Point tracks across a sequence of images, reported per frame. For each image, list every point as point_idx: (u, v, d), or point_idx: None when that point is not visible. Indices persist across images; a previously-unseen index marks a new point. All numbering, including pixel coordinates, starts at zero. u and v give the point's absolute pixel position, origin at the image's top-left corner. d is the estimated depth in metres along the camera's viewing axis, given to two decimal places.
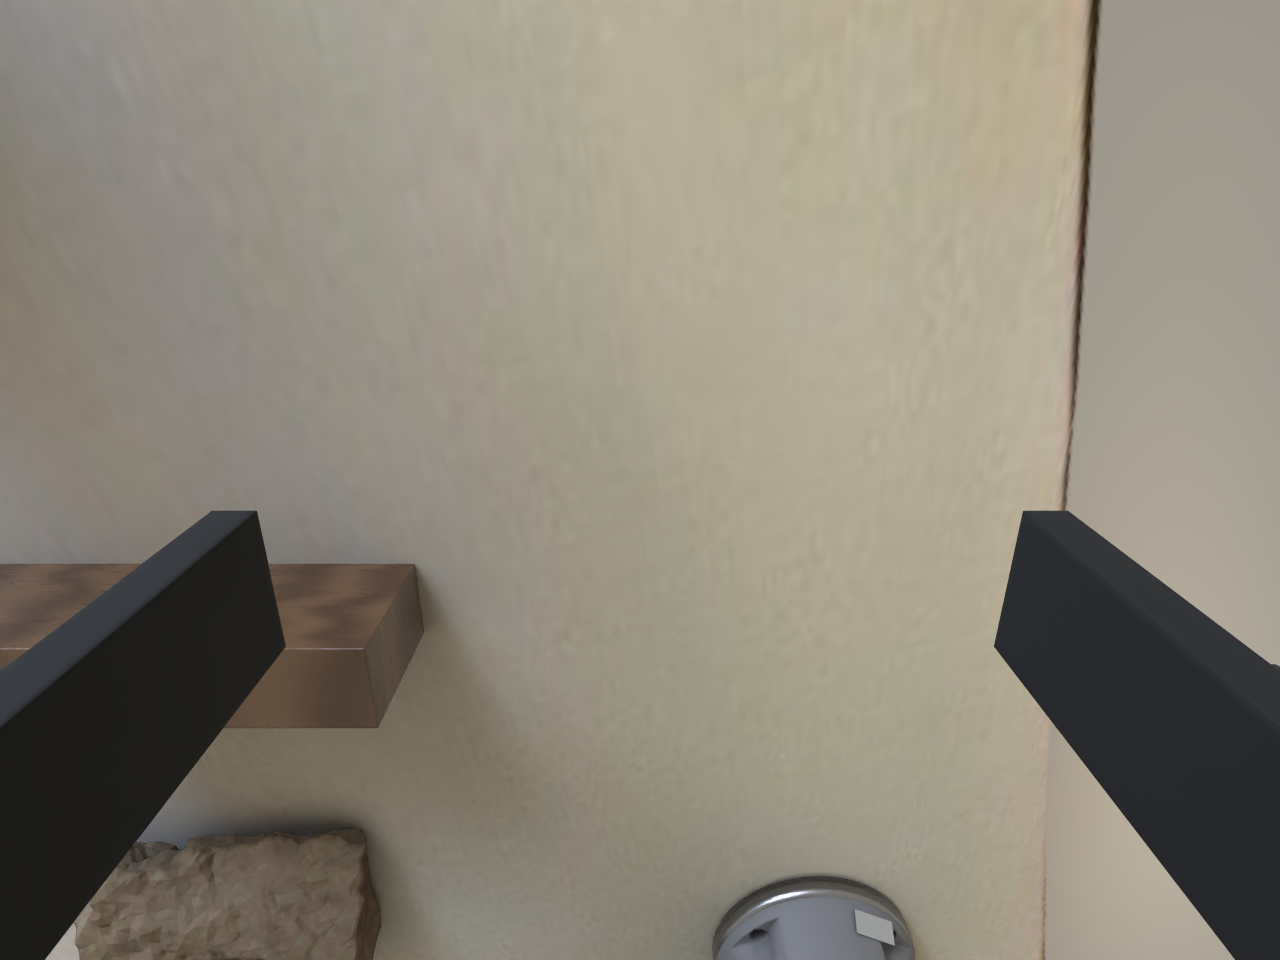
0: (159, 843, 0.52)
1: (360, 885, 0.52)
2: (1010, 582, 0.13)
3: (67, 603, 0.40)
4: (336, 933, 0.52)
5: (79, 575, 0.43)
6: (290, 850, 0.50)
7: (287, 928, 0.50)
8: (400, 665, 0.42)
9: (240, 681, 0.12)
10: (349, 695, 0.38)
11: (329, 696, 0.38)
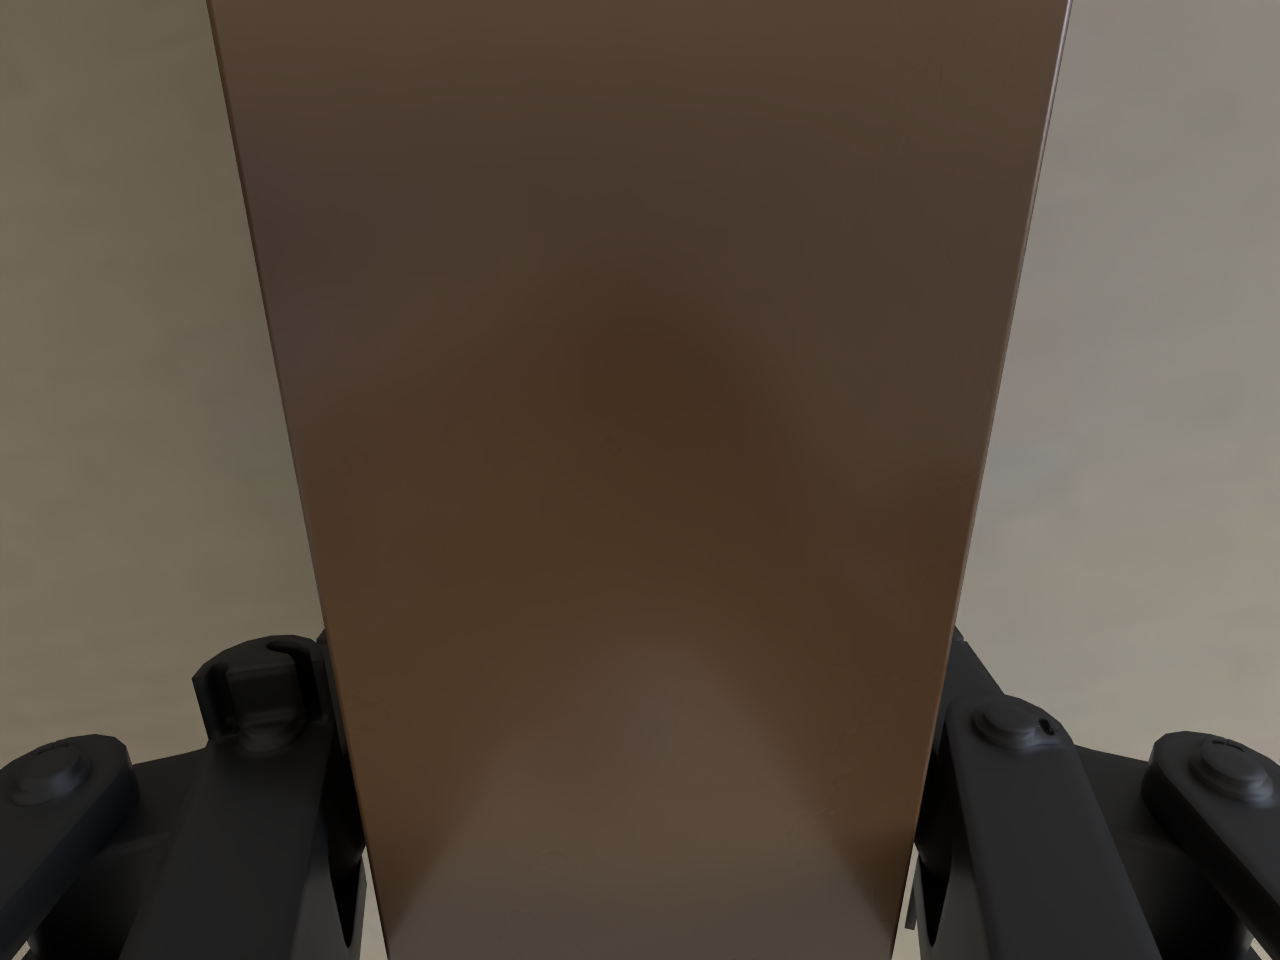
0: None
1: None
2: None
3: None
4: None
5: None
6: None
7: None
8: None
9: None
10: None
11: None
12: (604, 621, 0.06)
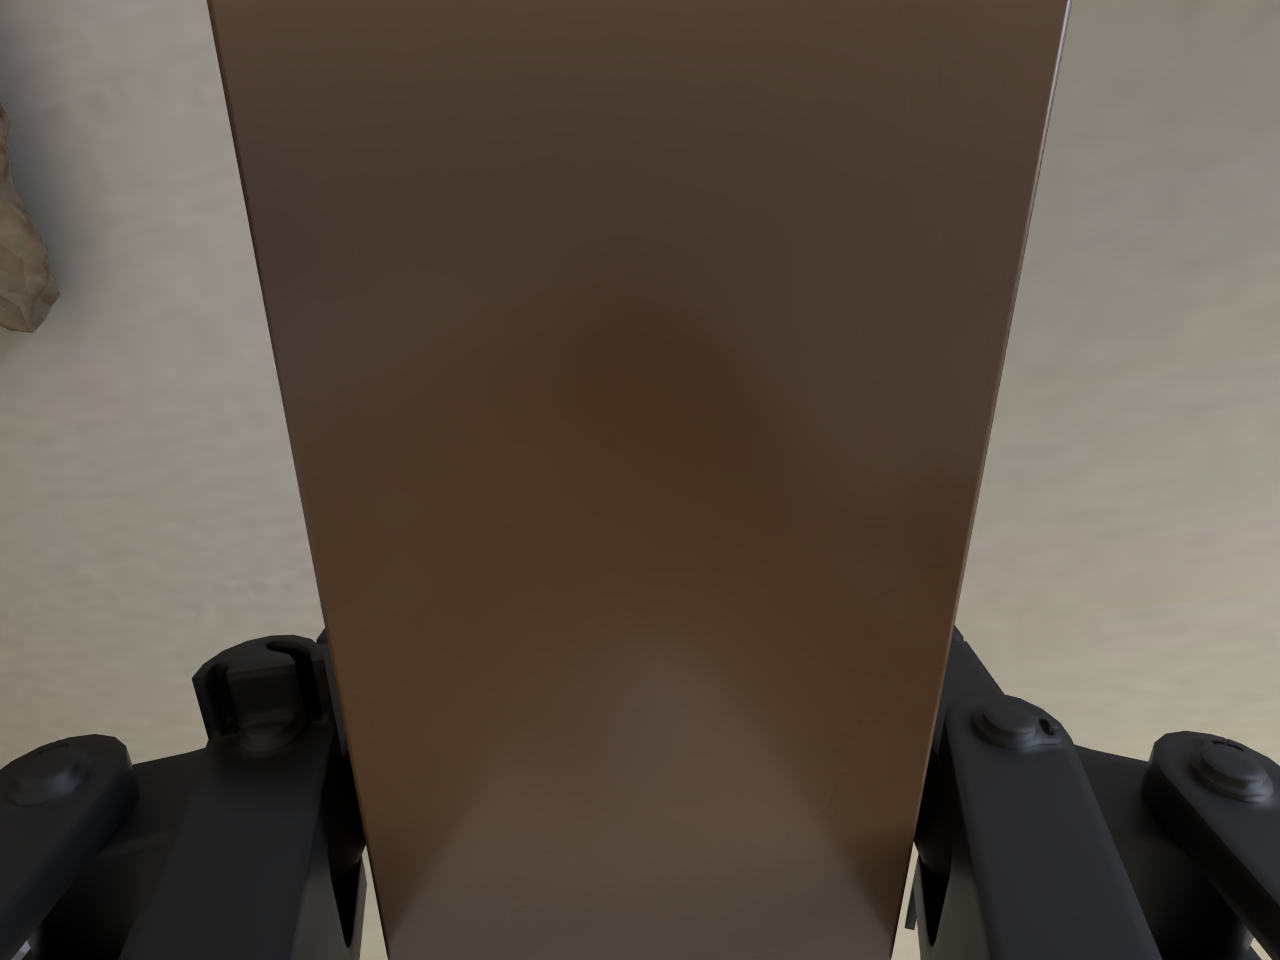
0: None
1: None
2: None
3: None
4: None
5: None
6: None
7: None
8: None
9: None
10: None
11: None
12: (604, 620, 0.06)
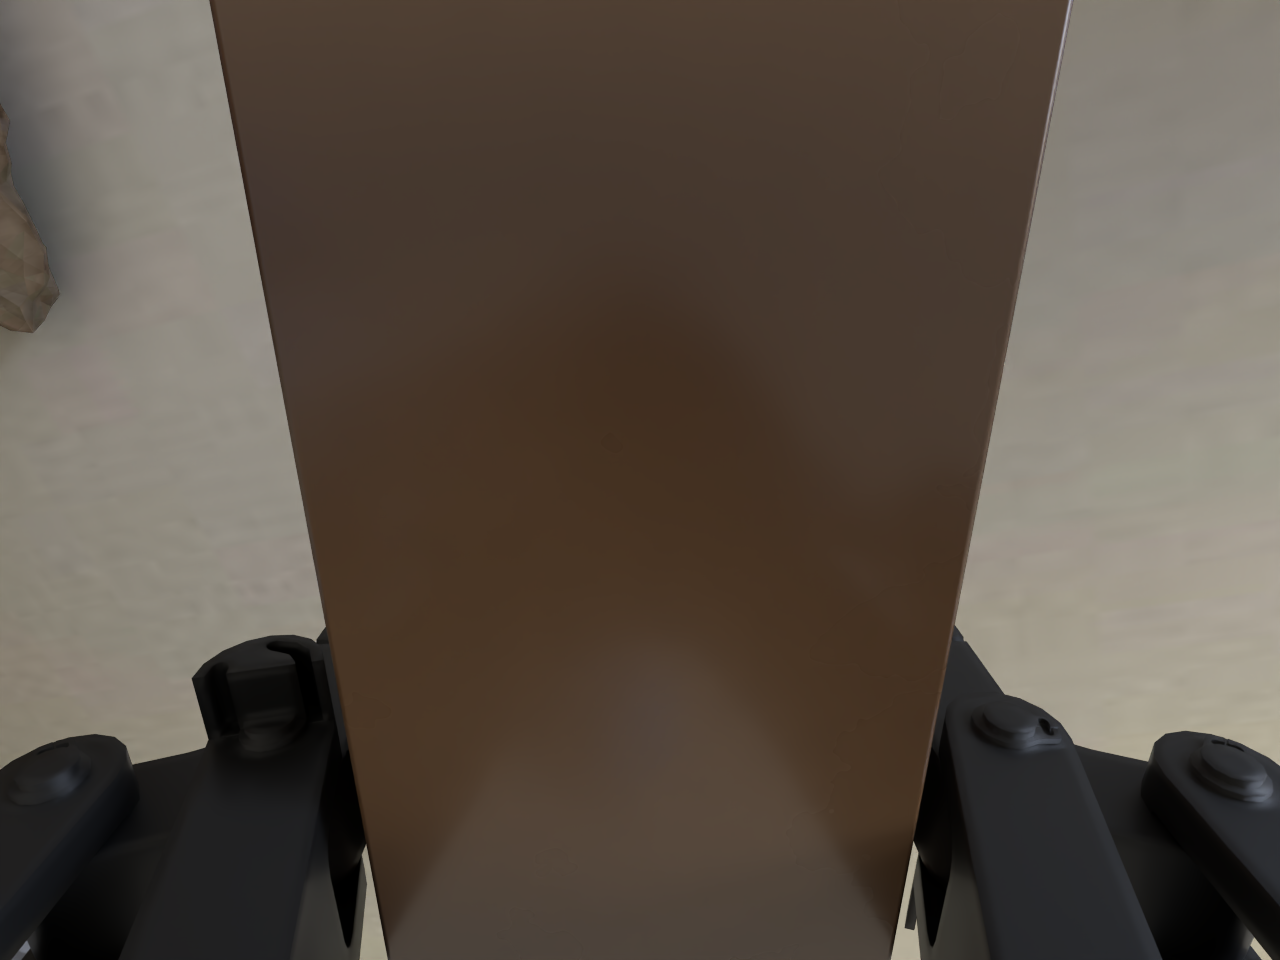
0: None
1: None
2: None
3: None
4: None
5: None
6: None
7: None
8: None
9: None
10: None
11: None
12: (605, 619, 0.06)
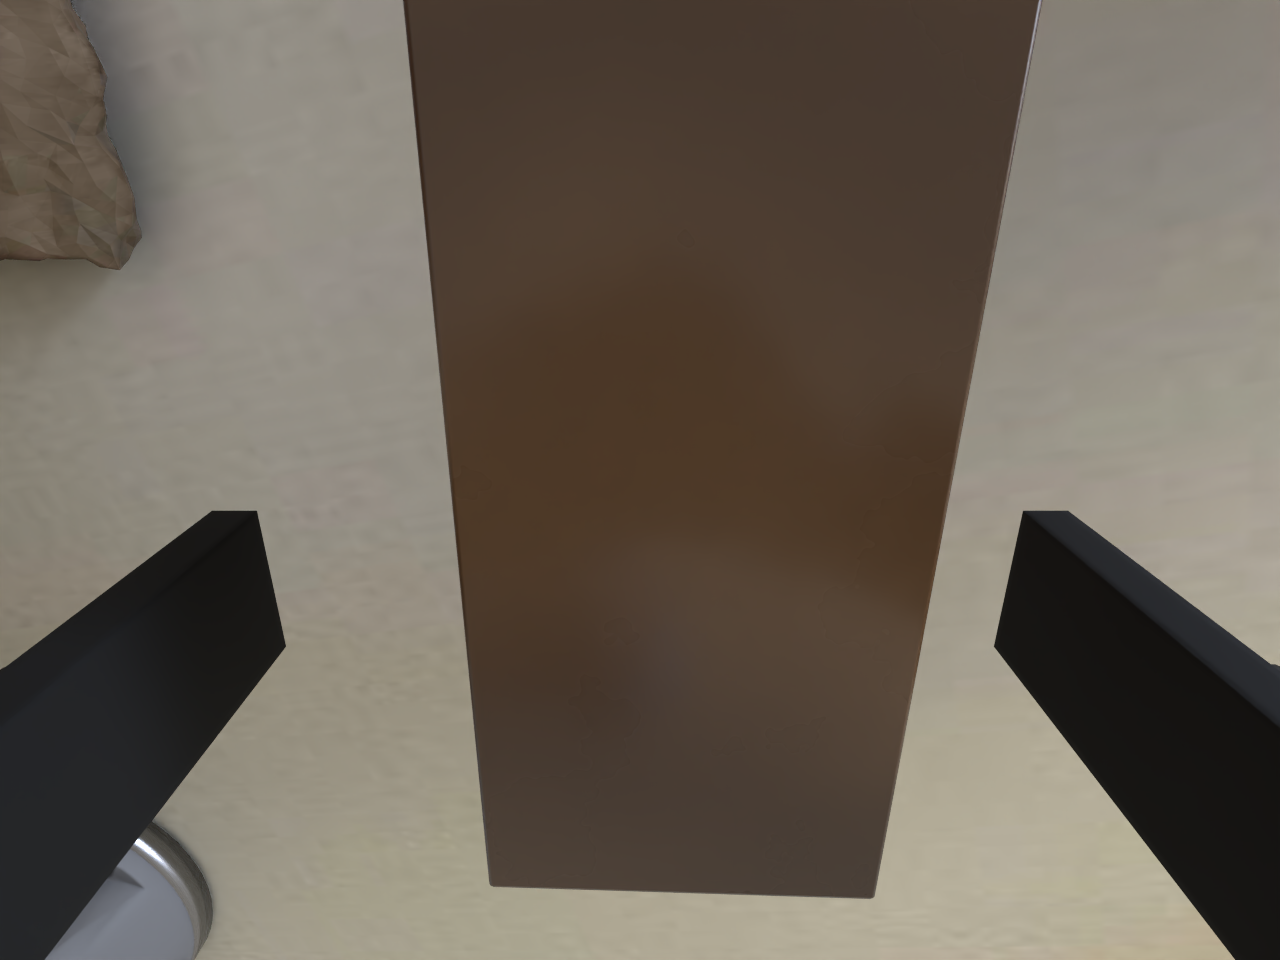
0: None
1: (11, 253, 0.25)
2: (1010, 582, 0.13)
3: None
4: None
5: None
6: (74, 114, 0.23)
7: None
8: None
9: (239, 681, 0.12)
10: (652, 826, 0.09)
11: (651, 760, 0.09)
12: (673, 400, 0.07)
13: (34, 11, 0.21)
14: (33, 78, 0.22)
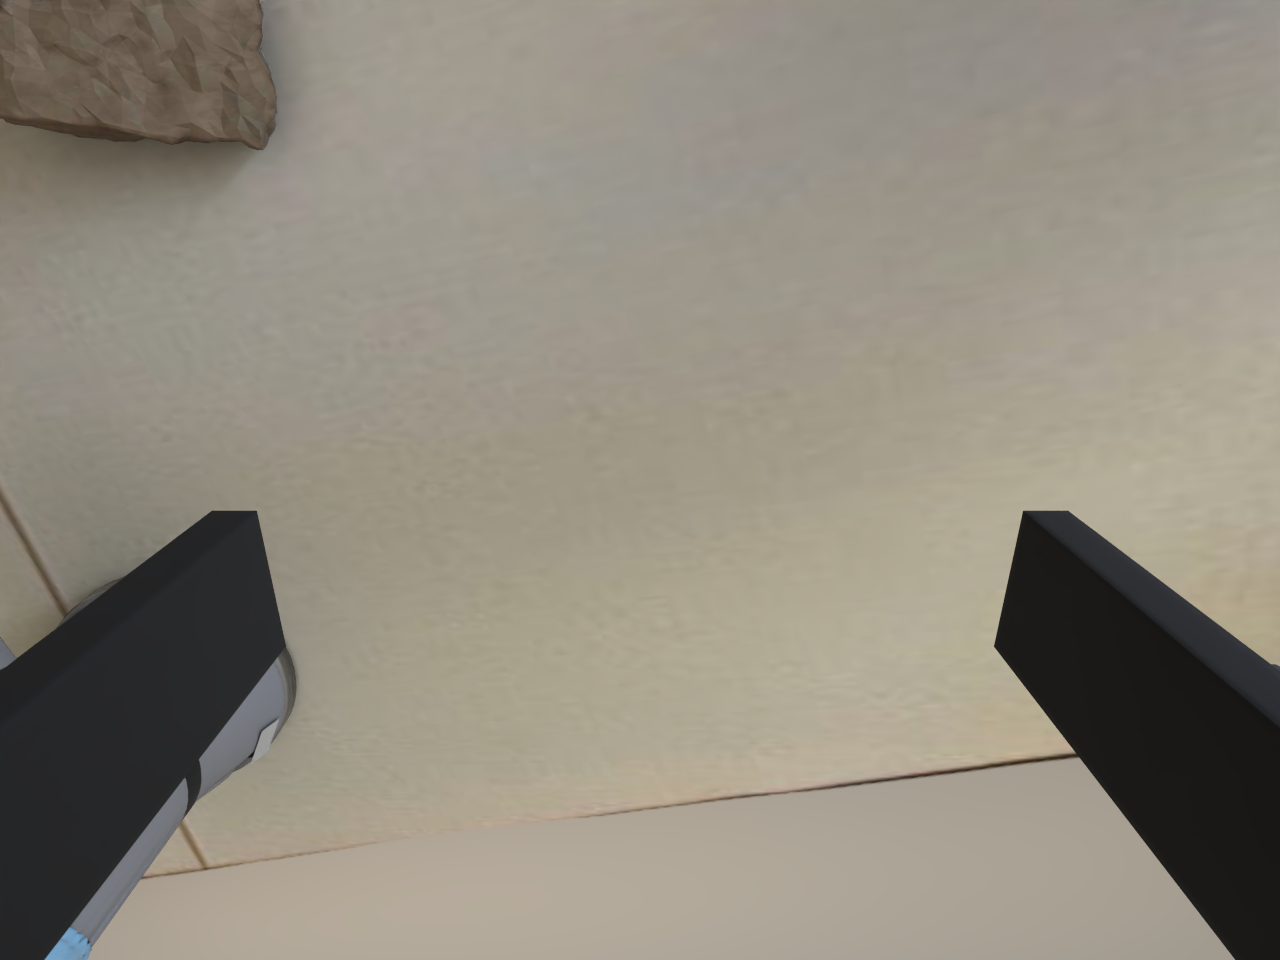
0: None
1: (191, 136, 0.36)
2: (1011, 582, 0.13)
3: None
4: (101, 95, 0.34)
5: None
6: (243, 36, 0.34)
7: (105, 21, 0.32)
8: None
9: (239, 681, 0.12)
10: None
11: None
12: None
13: None
14: (220, 11, 0.33)
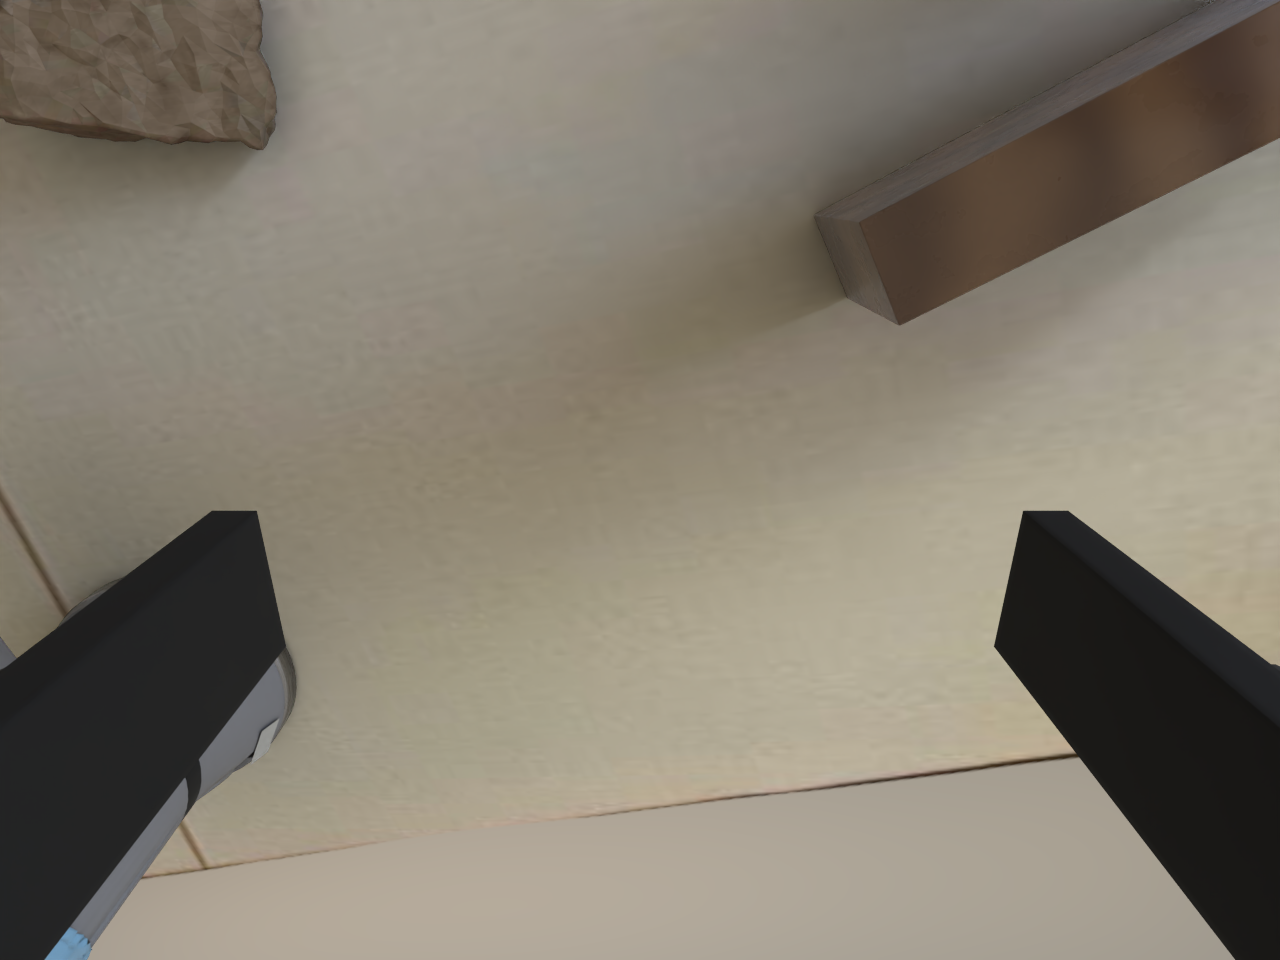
0: None
1: (191, 136, 0.36)
2: (1011, 582, 0.13)
3: None
4: (101, 95, 0.34)
5: None
6: (243, 36, 0.34)
7: (105, 21, 0.32)
8: (841, 234, 0.35)
9: (239, 681, 0.12)
10: (902, 254, 0.32)
11: (924, 242, 0.31)
12: (1024, 194, 0.31)
13: None
14: (220, 11, 0.33)
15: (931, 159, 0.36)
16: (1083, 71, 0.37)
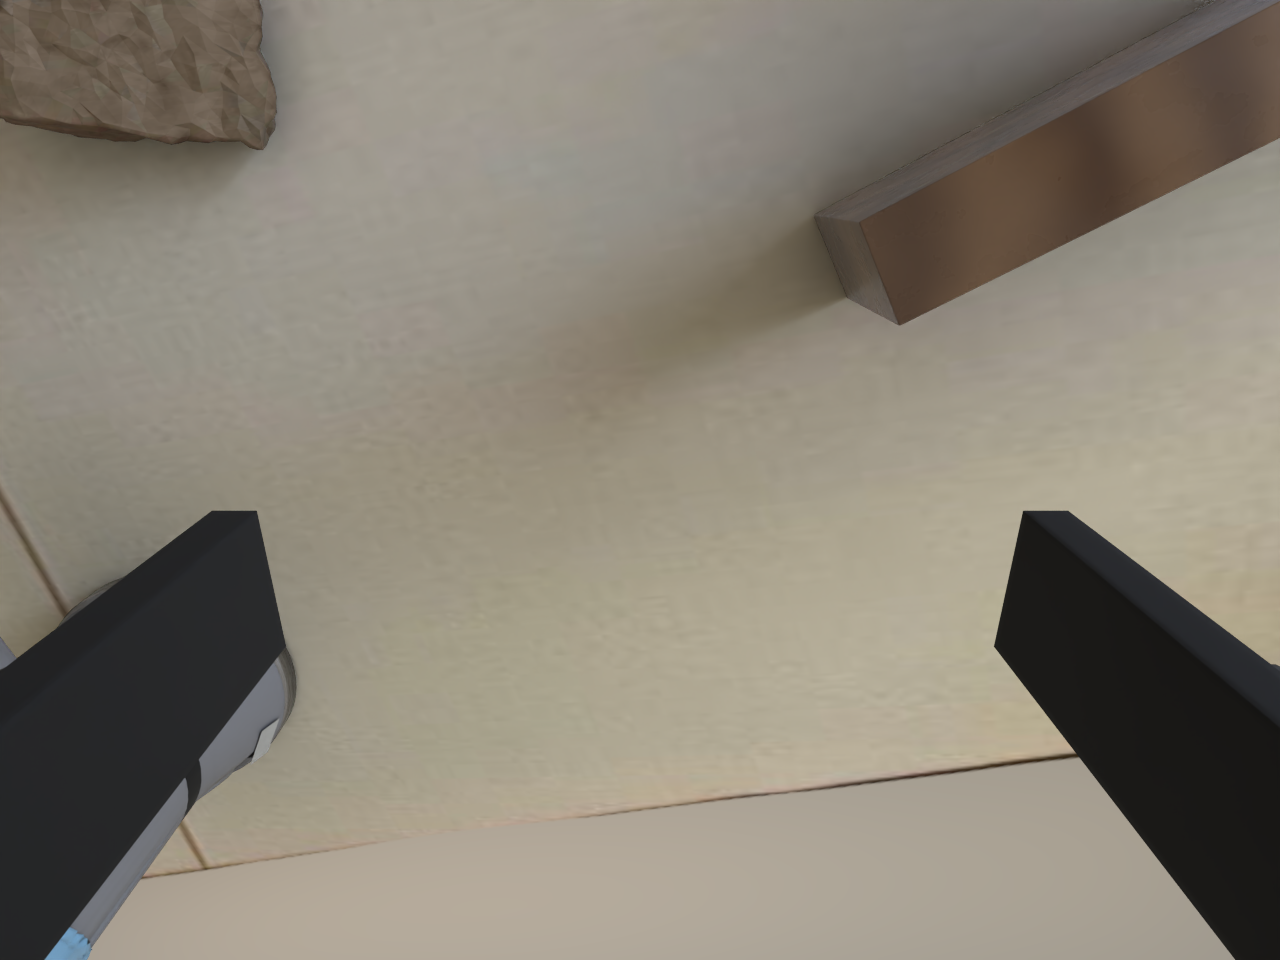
0: None
1: (191, 136, 0.36)
2: (1011, 582, 0.13)
3: None
4: (101, 95, 0.34)
5: None
6: (243, 36, 0.34)
7: (105, 21, 0.32)
8: (841, 234, 0.35)
9: (239, 681, 0.12)
10: (902, 254, 0.32)
11: (924, 242, 0.31)
12: (1024, 194, 0.31)
13: None
14: (220, 11, 0.33)
15: (931, 159, 0.36)
16: (1083, 71, 0.37)
